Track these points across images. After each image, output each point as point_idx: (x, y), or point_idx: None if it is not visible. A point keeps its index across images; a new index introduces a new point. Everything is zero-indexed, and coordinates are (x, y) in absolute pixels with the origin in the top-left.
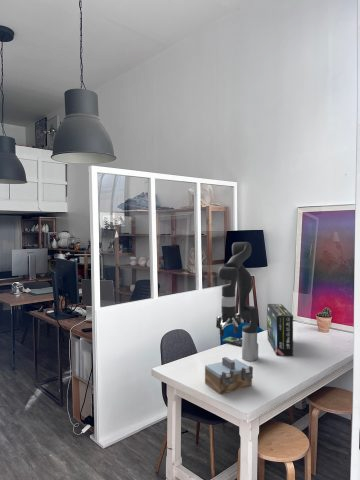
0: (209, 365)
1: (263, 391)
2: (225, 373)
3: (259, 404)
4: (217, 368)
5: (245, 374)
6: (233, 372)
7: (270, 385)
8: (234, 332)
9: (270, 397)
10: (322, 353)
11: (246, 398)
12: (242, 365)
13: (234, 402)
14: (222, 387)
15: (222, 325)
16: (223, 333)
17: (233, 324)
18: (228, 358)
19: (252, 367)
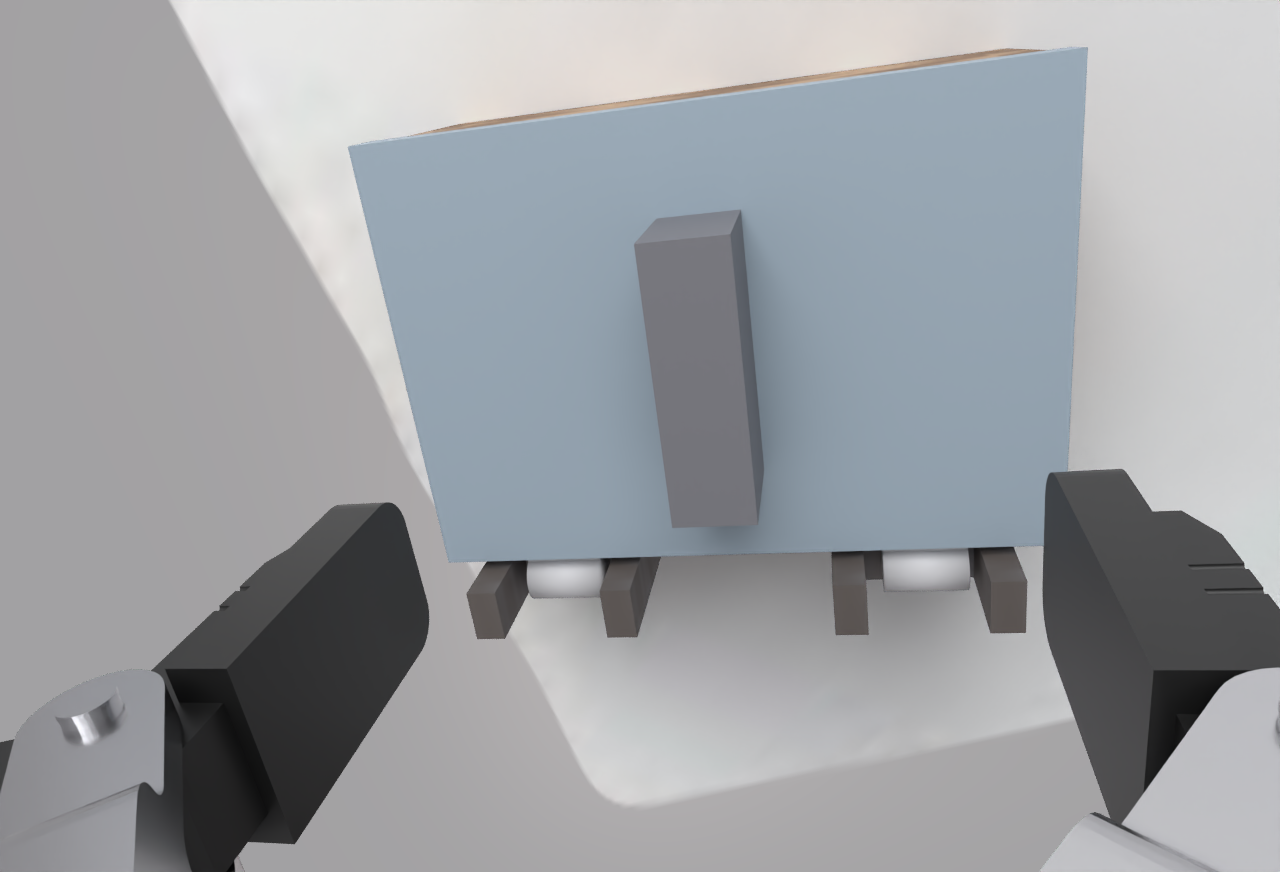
0: (417, 181)
1: (1032, 586)
2: (500, 634)
3: (797, 759)
4: (503, 350)
5: (872, 569)
6: (639, 626)
7: (1248, 500)
8: (1053, 549)
9: (999, 710)
10: None
11: (748, 631)
12: (979, 399)
13: (594, 643)
14: None
15: (171, 831)
16: (368, 708)
17: (1163, 809)
18: (737, 327)
19: (1018, 629)
